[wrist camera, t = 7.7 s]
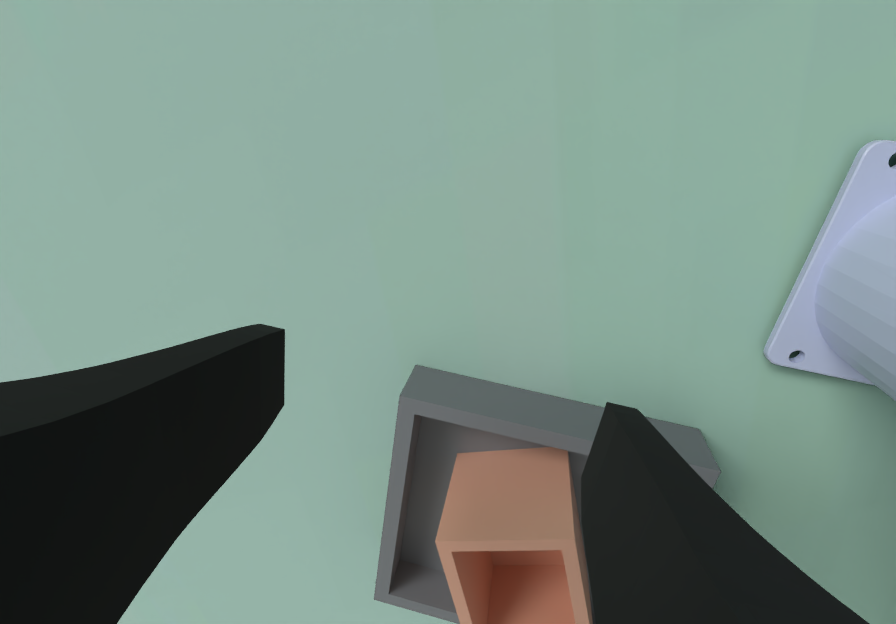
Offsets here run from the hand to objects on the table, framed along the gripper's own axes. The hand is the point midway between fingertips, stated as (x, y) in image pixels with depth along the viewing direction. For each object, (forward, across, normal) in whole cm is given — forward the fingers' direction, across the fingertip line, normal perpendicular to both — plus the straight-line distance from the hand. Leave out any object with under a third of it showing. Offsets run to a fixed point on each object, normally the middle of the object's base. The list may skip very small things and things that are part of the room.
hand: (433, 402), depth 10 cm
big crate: (+9, -4, +11) cm, 15 cm away
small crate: (+9, -4, +11) cm, 15 cm away
